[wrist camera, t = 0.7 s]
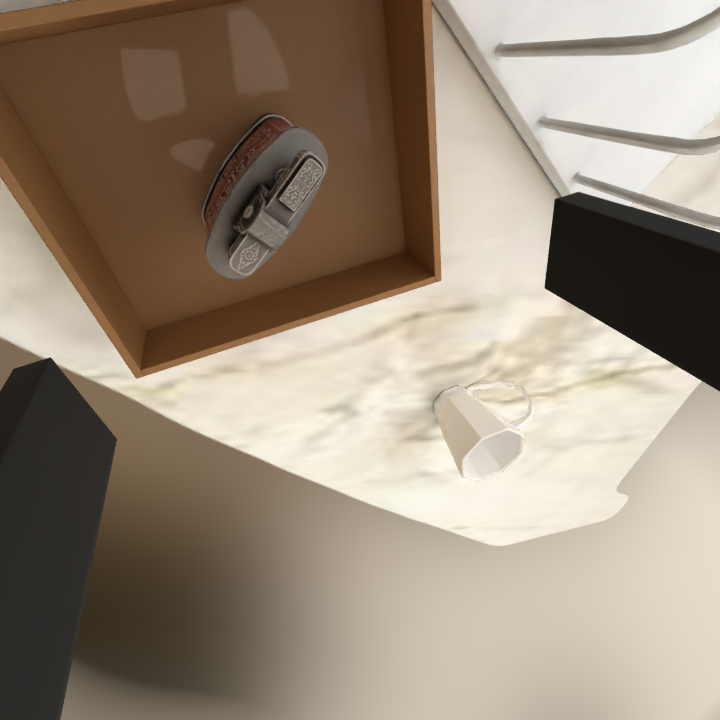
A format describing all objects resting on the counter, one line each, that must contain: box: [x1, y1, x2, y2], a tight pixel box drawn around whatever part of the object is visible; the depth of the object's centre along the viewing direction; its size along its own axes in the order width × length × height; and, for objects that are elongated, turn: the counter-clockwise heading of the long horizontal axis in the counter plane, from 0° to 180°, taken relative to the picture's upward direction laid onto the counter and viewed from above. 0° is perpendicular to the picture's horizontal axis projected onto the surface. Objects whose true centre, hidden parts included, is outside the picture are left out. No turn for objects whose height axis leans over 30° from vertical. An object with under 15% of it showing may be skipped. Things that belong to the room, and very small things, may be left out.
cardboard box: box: [0, 0, 441, 378], centre depth 24 cm, size 17×21×5 cm
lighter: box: [201, 113, 328, 279], centre depth 22 cm, size 8×3×10 cm, turn 138°
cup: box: [434, 380, 534, 481], centre depth 41 cm, size 7×10×8 cm
